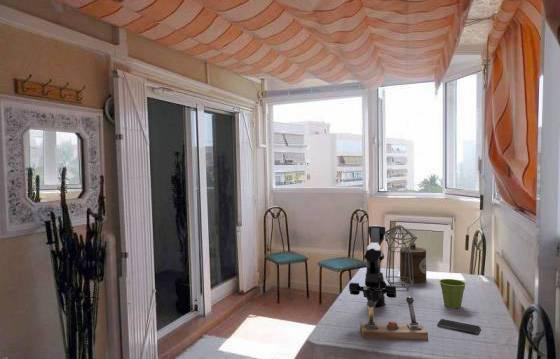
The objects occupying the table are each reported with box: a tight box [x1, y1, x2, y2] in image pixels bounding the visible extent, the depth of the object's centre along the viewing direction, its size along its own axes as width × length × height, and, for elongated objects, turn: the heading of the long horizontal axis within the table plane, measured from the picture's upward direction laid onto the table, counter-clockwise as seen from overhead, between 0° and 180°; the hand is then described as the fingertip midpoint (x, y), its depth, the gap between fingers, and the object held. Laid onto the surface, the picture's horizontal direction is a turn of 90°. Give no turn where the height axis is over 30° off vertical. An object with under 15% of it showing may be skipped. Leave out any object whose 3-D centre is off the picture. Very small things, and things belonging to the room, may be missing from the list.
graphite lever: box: [405, 296, 419, 325], centre depth 147 cm, size 3×3×11 cm
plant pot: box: [438, 278, 467, 309], centre depth 176 cm, size 12×12×11 cm
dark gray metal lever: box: [366, 300, 376, 325], centre depth 146 cm, size 3×3×11 cm
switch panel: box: [359, 320, 429, 340], centre depth 146 cm, size 9×24×4 cm, turn 86°
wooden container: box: [399, 242, 427, 284], centre depth 221 cm, size 15×15×22 cm
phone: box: [436, 318, 481, 336], centre depth 151 cm, size 8×1×15 cm
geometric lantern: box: [384, 224, 418, 292], centre depth 203 cm, size 16×16×35 cm
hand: (371, 309), depth 149 cm, fingers closed
